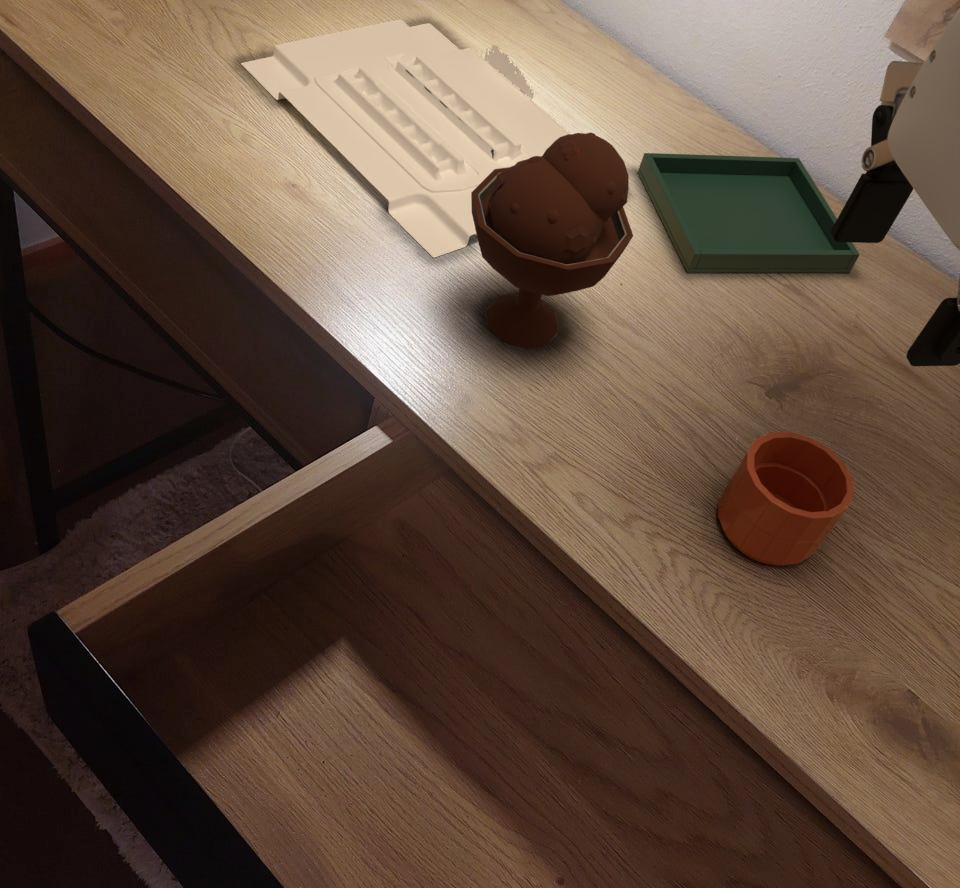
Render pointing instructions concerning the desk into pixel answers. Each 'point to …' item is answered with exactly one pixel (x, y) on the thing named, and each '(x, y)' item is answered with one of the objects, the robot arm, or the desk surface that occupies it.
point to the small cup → (784, 498)
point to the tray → (413, 117)
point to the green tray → (744, 214)
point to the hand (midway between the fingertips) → (891, 297)
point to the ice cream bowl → (550, 230)
